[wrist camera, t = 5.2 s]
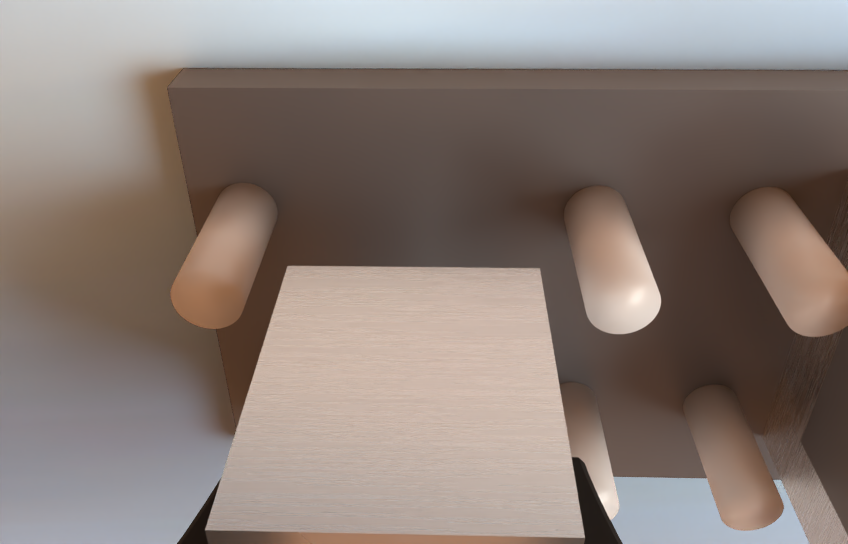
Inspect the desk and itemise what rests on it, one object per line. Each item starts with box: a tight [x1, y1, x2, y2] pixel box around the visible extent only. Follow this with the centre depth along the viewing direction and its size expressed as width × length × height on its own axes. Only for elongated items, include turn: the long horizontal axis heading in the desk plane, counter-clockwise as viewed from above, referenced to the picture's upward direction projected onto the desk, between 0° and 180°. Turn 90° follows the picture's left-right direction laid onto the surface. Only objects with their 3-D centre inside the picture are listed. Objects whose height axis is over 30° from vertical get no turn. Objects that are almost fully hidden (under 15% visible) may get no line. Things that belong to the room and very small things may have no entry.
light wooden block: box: [205, 266, 585, 544], centre depth 12 cm, size 7×4×5 cm, turn 0°
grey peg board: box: [167, 68, 848, 531], centre depth 15 cm, size 10×19×4 cm, turn 90°
